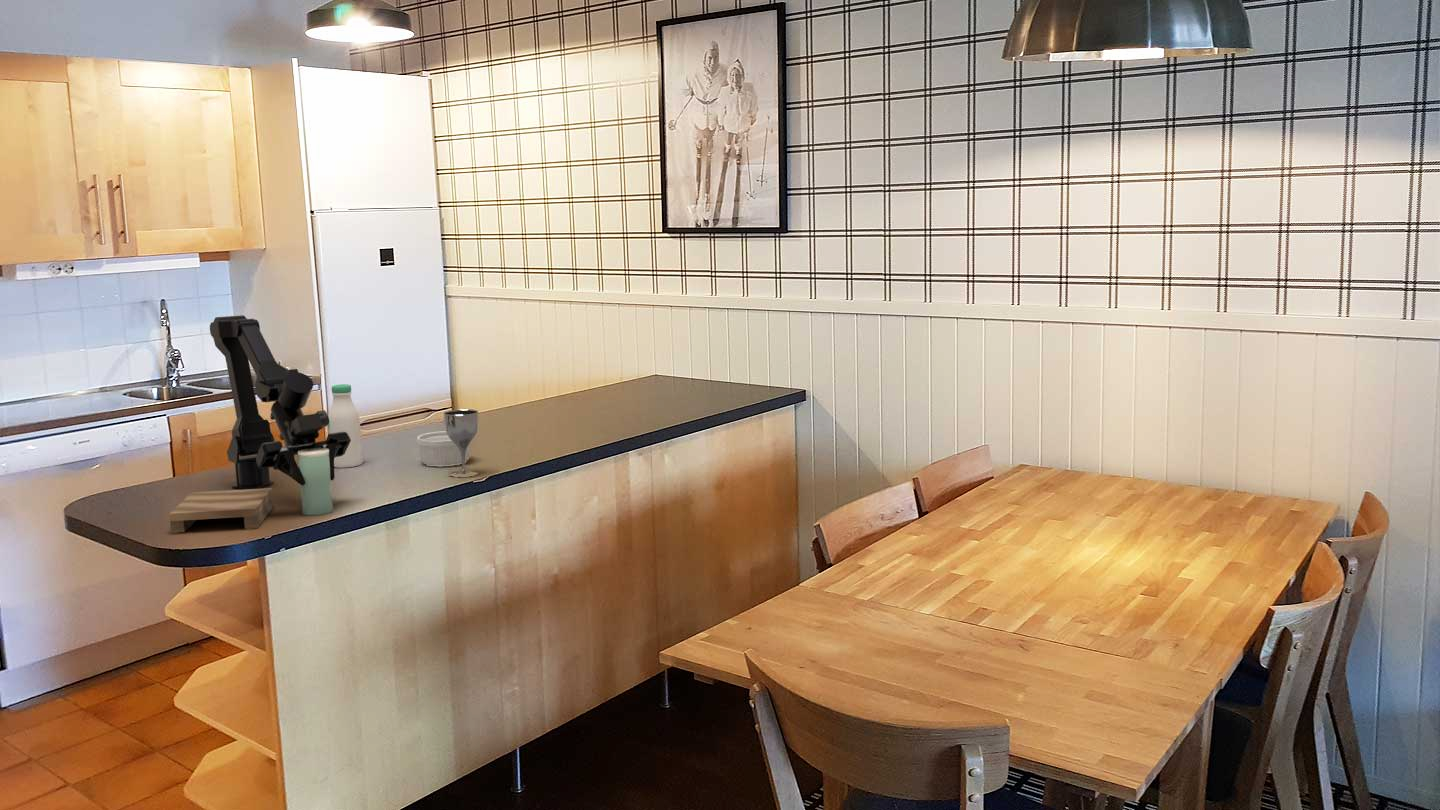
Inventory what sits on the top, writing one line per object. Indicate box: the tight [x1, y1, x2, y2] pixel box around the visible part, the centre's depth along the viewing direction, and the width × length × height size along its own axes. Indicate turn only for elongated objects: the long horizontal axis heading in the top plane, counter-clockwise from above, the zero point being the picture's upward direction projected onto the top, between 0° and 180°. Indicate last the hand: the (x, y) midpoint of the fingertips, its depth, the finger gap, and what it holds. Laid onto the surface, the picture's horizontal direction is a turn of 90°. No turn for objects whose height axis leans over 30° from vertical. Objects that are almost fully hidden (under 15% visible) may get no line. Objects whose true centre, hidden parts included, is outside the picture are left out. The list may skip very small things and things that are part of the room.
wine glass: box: [443, 408, 479, 474], centre depth 275 cm, size 8×8×15 cm
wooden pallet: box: [169, 487, 274, 534], centre depth 237 cm, size 18×16×4 cm
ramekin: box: [416, 430, 472, 465], centre depth 289 cm, size 13×13×7 cm
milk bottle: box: [327, 384, 363, 469], centre depth 287 cm, size 8×8×20 cm
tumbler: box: [297, 448, 334, 516], centre depth 242 cm, size 6×6×13 cm
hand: (318, 481), depth 241 cm, fingers closed on tumbler, 6 cm apart
